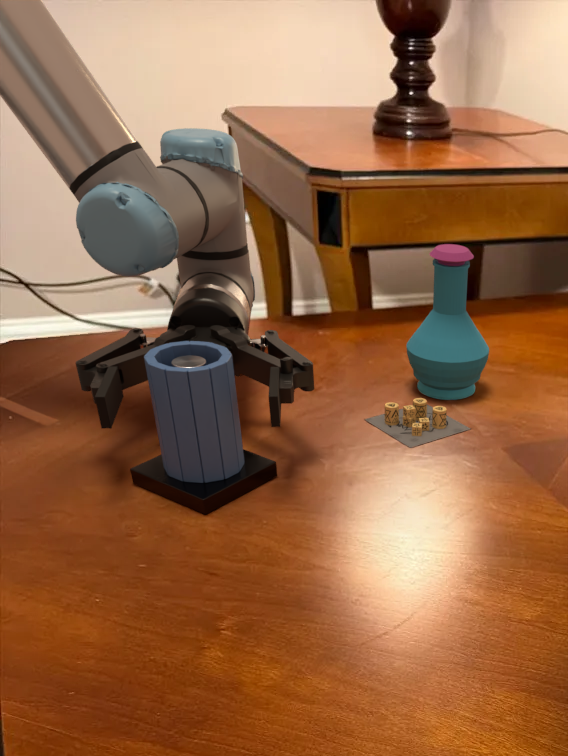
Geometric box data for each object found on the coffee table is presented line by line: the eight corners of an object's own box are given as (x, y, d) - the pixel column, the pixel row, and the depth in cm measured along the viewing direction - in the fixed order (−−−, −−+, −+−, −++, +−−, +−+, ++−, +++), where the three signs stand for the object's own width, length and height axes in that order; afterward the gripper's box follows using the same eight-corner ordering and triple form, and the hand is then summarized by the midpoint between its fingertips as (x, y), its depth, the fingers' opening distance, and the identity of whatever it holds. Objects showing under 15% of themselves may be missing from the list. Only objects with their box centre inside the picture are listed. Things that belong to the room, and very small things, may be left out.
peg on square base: (132, 483, 77) (107, 363, 71) (207, 448, 84) (190, 334, 77) (205, 515, 74) (186, 391, 67) (277, 476, 80) (267, 359, 73)
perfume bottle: (438, 411, 94) (443, 265, 85) (390, 382, 99) (389, 242, 90) (502, 393, 99) (514, 254, 89) (453, 367, 104) (459, 233, 95)
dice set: (381, 421, 91) (381, 404, 90) (420, 410, 94) (420, 393, 92) (411, 439, 88) (411, 421, 87) (449, 427, 91) (450, 410, 90)
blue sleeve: (148, 467, 77) (126, 356, 71) (205, 441, 82) (189, 335, 75) (203, 490, 74) (186, 377, 68) (259, 462, 79) (248, 354, 73)
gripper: (336, 361, 92) (344, 452, 76) (88, 360, 88) (39, 456, 72) (333, 288, 87) (341, 368, 71) (71, 284, 83) (15, 367, 67)
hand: (190, 412), depth 71 cm, fingers open, 13 cm apart
